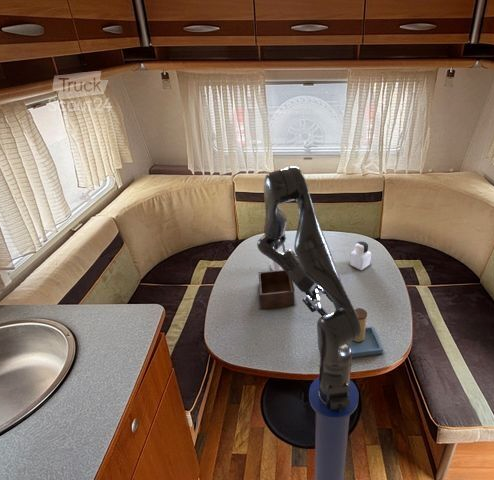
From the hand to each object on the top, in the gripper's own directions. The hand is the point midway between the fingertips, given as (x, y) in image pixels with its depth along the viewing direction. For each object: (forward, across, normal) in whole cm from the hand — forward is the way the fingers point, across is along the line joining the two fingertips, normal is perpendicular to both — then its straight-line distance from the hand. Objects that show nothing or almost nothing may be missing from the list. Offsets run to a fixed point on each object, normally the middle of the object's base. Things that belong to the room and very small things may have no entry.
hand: (330, 308), depth 131 cm
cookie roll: (+15, 0, 0) cm, 15 cm away
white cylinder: (-18, -28, -35) cm, 48 cm away
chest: (-12, -10, -28) cm, 32 cm away
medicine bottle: (+7, -46, -9) cm, 48 cm away
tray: (+16, +2, 0) cm, 16 cm away
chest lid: (-20, -13, -14) cm, 28 cm away
